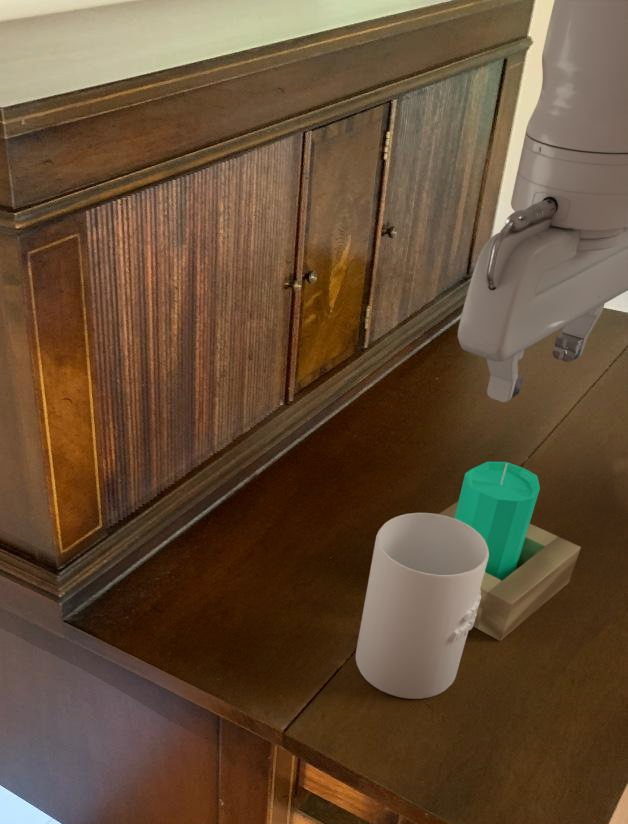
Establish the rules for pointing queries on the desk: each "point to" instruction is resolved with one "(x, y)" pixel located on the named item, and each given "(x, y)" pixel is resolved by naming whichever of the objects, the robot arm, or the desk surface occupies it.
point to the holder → (524, 581)
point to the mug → (420, 603)
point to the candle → (499, 511)
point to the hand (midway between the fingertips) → (535, 376)
